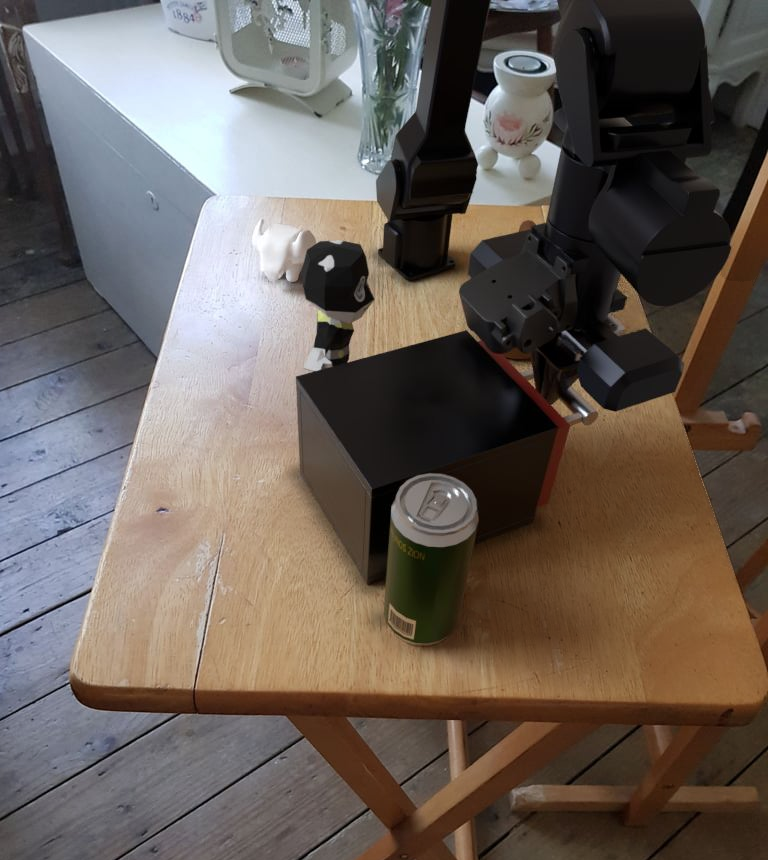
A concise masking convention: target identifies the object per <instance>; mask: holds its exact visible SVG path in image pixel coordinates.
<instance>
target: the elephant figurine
mask: <svg viewBox="0 0 768 860" xmlns="http://www.w3.org/2000/svg"><path fill="white" fill-rule="evenodd" d="M264 223H265V219H263V218H261V219H260V220H258V222H257V224H256V225H255V228H254V230H253V233H252V237H251V244H252V247H253V249H254V251H255V252H256V253H257V254H258V255H259V256H260V264H259V269H260V274H261V275H260V276H263V273H264V275H265V276H266V278H267V280H268V281H269V282H271V283H273V284H276V283H277V282H278V281H279V279H281V278H282V277H283V275H284V274H285V277H286V280H287V281H288V282H291V283H294V282H297V281H298V279H299V276H300V273H301V269H302V266H303V263H304V260H305V256H306V252H307V249H309V248H310V247H312V246H313V245H315V244H316V243H317V241H316V237H315V235H314V234H313V232H311V230H310V229H303V228H302V225H299V227H295V226H291V225H286V224H282V223H274V224H272V225H271V226H270V227H269V228H268V229H267V230H266V231H265V232H264V233H262V232H263V231H262V229H263V227H264Z"/></svg>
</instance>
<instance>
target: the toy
mask: <svg viewBox="0 0 768 860" xmlns="http://www.w3.org/2000/svg"><path fill="white" fill-rule="evenodd" d="M369 275H370V272H369V265H368V260H367V256H366V253H365V251H364V249H363V246H362V245H361V244H360V243H355V242H351V241H347V240H341V239H337V240H320V241H318V242H316V244H315V245H313V246H312V247H310V248H309V249H307V252H306V256H305V260H304V263H303V266H302V269H301V272H300V276H301V283H302V288H303V292H304V293H303V294H304V298H305V300H306V301H307V302H309V303H310V304H311V305H312V306H313V307H315V308H316V309H317V313H316V314H317V316H316V334H315V338H314V342H313V347H312V348H311V350H310V351H309V353H308V355H307V358H306V360H305V362H304V364H303V367H302V369H303V370H306V371H310V372H314V371H318V370H322V369H325V368H329V367H333V366H336V365H340V364H344V363H347V362H349V360H350V353H351V352H350V343H351V340H352V337H353V334H354V332H355V328H354V325H353V323H354V322H356V321H358V320H360V319H362V318H363V316H364V315H365V313H366V312H367V311H368V310H369V308H370V307H371V305H372V304H373V303H374V301H375V297H374V294H373V292H372V291H371V288H370V285H369V284H368V278H369Z"/></svg>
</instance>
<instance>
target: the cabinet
mask: <svg viewBox="0 0 768 860" xmlns="http://www.w3.org/2000/svg"><path fill="white" fill-rule="evenodd" d="M295 389H296V391H295V392H296V411H297V413H296V414H297V415H296V416H297V431H298V432H297V434H298V435H297V437H298V451H299V452H298V457H299V474H300V476H301V478H302V479H303V481H304V483H305V485H306V486H307V488H308V490H309V492H310V493H311V495H312V496H313V498H314V499H315V501H316V503H317V505H318V506H319V508H320V509H321V511H322V513H323V514H324V516H325V518H326V519H327V521H328V523H329V524H330V526H331V528H332V529H333V531H334V533H335V534H336V536H337V537H338V540H339V541H340V543H341V544H342V546H343V547H344V549H345V551H346V552H347V554H348V556H349V558H350V559H351V561H352V563H353V564H354V565H355V567H356V569H357V571H358V572H359V574H360V575H361V577H362V579H363V581H364V583H365V585H367V586H368V585H371V584H373V583H377V582H378V581H381V580H384V579H386V572H387V559H388V546H389V533H390V519H391V506H392V504H393V502H394V500H395V498H396V495H397V493H398V491H399V488H400V487H401V486H402V485H403V484H404V483H405V482H406V481H407V480H409V479H411V478H413V477H416V476H418V475H423V474H429V473H432V474H444V475H447V476H451V477H454V478H456V479H458V480H459V481H461V482H463V483H465V484H466V485H467V486H468V487H469V488H470V489H471V490H472V492H473V494H474V496H475V498H476V503H477V510H478V520H479V521H478V526H477V531H476V536H475V542H474V546H475V545H477V544H480V543H482V542H486V541H488V540H490V539H493V538H496V537H499V536H501V535H505V534H506V533H509V532H512V531H515V530H517V529H520V528H523V527H525V526H528V525H531V524H533V523H534V520H535V517H536V512H537V509H538V507H537V505H538V501H539V497H540V494H541V490H542V486H543V483H544V479H545V475H546V472H547V468H548V464H549V460H550V457H551V453H552V449H553V446H554V442H555V438H556V434H557V431H558V426H557V425H556V424H555V423H554V422H553V421H552V420H551V419H550V418H549V417H548V416H547V415H546V414H545V413H544V412H543V411H542V409H541V408H540V407H539V406H538V405H537V404H536V403H535V402H534V401H533V400H532V399H531V398H530V397H529V396H528V395H527V394H526V392H525V391H524V390H523V389H522V388H521V387H520V386H519V385H518V384H517V383H516V382H515V381H514V380H513V379H512V378H511V377H510V376H509V374H508V373H507V372H506V371H505V370H504V369H503V368H502V367H501V366H500V365H499V364H498V363H497V362H496V361H495V360H494V359H493V357H492V356H491V355H490V354H489V353H488V352H487V351H486V350H485V349H484V348H483V347H482V346H481V345H480V344H479V343H478V341H477V340H476V338H475V337H474V336H473V335H472V334H471V332H469V331H468V330H467V329H466V330H462V331H458V332H455V333H451V334H447V335H444V336H440V337H439V336H438V337H436V338H433V339H429V340H425V341H422V342H417V343H414V344H411V345H407V346H406V345H405V346H403V347H400V348H395V349H392V350H388V351H384V352H381V353H377V354H373V355H370V356H366V357H361V358H358V359H355V360H351V361H348V362H347V363H344V364H340V365H336V366H333V367H329V368H325V369H322V370H318V371H310V372H307V373H304V374H298V375H296V376H295Z"/></svg>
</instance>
